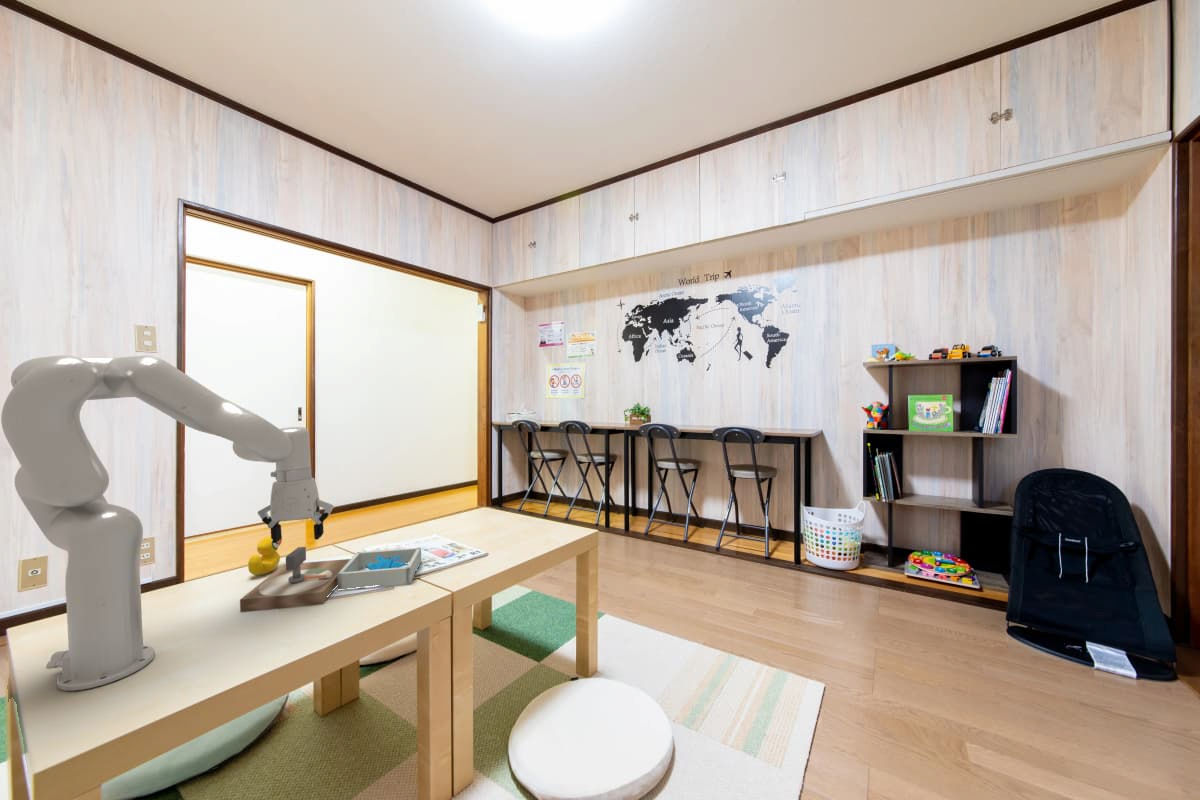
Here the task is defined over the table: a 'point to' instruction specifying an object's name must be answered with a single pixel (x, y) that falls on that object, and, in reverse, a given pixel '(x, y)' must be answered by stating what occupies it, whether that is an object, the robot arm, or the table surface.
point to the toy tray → (382, 577)
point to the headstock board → (294, 587)
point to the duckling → (265, 557)
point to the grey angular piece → (298, 565)
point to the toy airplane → (385, 563)
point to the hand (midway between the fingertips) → (298, 539)
